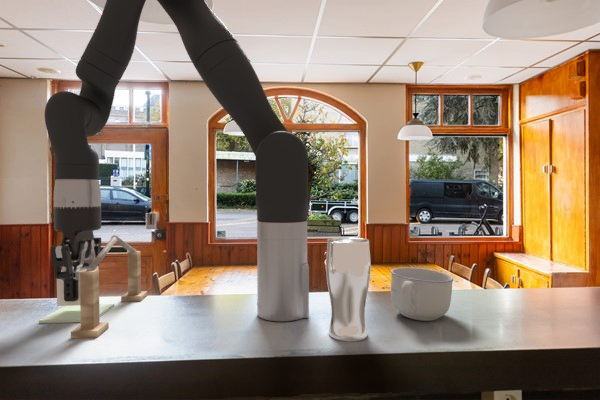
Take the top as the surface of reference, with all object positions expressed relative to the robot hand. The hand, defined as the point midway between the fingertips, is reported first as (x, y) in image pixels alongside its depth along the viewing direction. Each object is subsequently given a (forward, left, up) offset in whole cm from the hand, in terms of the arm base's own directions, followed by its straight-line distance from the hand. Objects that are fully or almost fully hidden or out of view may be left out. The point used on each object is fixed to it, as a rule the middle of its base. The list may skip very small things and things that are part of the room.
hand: (79, 296), depth 70 cm
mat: (0, 0, -3) cm, 3 cm away
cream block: (0, 0, -1) cm, 1 cm away
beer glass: (-47, +14, -4) cm, 50 cm away
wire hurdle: (-6, 0, -3) cm, 7 cm away
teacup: (-61, +7, -4) cm, 62 cm away
